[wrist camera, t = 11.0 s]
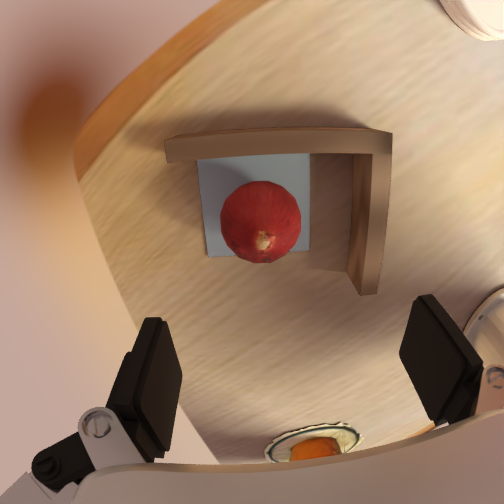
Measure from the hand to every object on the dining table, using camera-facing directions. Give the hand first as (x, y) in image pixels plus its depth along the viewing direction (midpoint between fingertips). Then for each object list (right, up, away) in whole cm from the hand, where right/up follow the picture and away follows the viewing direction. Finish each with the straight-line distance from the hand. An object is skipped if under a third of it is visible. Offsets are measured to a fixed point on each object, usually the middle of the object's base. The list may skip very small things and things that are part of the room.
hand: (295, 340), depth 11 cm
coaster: (+20, +29, +5) cm, 36 cm away
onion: (-1, +7, +15) cm, 16 cm away
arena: (+1, +7, +15) cm, 16 cm away
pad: (-1, +7, +15) cm, 16 cm away
